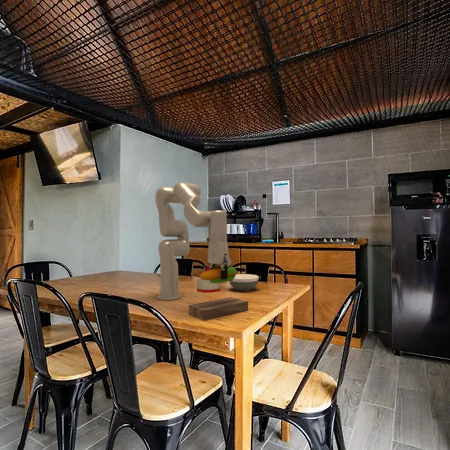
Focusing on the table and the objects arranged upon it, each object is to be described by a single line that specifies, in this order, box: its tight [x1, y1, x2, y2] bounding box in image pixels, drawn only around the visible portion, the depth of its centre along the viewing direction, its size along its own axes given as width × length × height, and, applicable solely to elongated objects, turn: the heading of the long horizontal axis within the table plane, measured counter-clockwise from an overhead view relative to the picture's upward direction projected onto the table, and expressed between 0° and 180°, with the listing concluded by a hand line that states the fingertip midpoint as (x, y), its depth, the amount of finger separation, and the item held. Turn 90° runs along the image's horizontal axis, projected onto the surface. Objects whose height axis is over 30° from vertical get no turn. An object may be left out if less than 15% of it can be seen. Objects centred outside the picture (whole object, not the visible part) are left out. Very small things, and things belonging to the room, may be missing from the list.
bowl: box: [229, 273, 260, 292], centre depth 184 cm, size 19×19×8 cm
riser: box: [188, 296, 249, 322], centre depth 134 cm, size 12×24×4 cm, turn 128°
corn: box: [199, 264, 238, 284], centre depth 134 cm, size 7×8×20 cm
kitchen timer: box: [196, 265, 221, 294], centre depth 184 cm, size 14×14×15 cm
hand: (218, 278), depth 134 cm, fingers closed on corn, 7 cm apart
